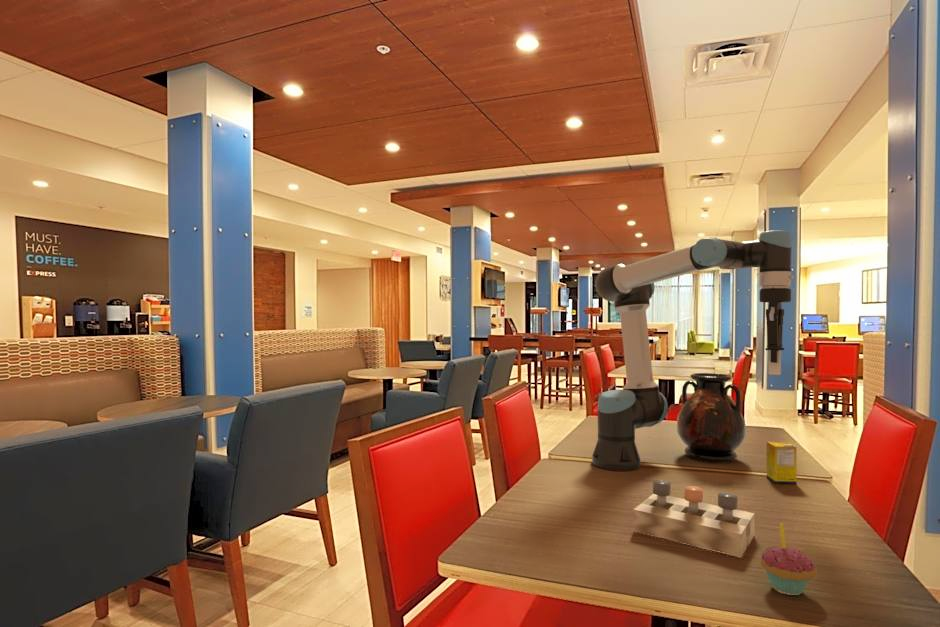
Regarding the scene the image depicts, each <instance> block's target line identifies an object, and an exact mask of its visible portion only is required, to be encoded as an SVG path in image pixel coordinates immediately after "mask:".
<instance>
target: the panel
mask: <svg viewBox="0 0 940 627" xmlns="http://www.w3.org/2000/svg"><path fill="white" fill-rule="evenodd" d="M634 531H637V532H640V533H639V534H641V533H645V534H649V535H653V536H657V537H662V538H666V539H670V540H674V541H678V542H682V543H686V544H690V545H694V546H699V547H703V548H707V549H711V550H715V551H720V552H725V553H729V554H733V555H736V556H742V555H743V553H744V551H745V550H746V548H747V546H748V545H749V543H750V541H751V540H752V541H753V539H754V537H755V512H749V511H747V510H746V511H745V510H741V509H736V510H733V520H731V521H729V520H724V519H723V508H720V507H719V506H718V505H715V504H711V503H707V502H706V503H705V502H700V503H698V513H691V512H689V501H686V500H685V499H684V498H681V497H676V496H671V495H669V496H666V506H659V505H657V495H656V494H654V493H653V494H650V496H649V497H647V498H646V499H645V500H643V501H642V502H641V503H640V504H638V505H637V506H636V507H634V509H633V532H634ZM637 532H636V533H637ZM645 534H644V535H645ZM649 535H648V536H649ZM653 536H652V537H653ZM753 536H754V537H753ZM752 538H753V539H752ZM752 541H751V542H752ZM750 544H751V543H750ZM749 546H750V545H749ZM749 546H748V547H749ZM747 549H748V548H747ZM746 551H747V550H746ZM744 554H745V553H744ZM743 556H744V555H743Z"/></svg>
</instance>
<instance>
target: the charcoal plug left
mask: <svg viewBox="0 0 940 627" xmlns="http://www.w3.org/2000/svg"><path fill="white" fill-rule="evenodd" d="M671 485H672V484H671V482H669V481H667V480H653V482H652V493H653V494H656V495H657V505H659V506H666V496H671V492H672V491H671Z"/></svg>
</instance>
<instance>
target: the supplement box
mask: <svg viewBox="0 0 940 627" xmlns="http://www.w3.org/2000/svg"><path fill="white" fill-rule="evenodd" d="M797 463H798V462H797V446H796V445H794V444H791V443H790V442H788V441H766V478H767V479H768V480H769V481H770V482H773V484H779V485H797V475H798V474H797V470H798V469H797Z"/></svg>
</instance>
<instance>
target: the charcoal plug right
mask: <svg viewBox="0 0 940 627" xmlns="http://www.w3.org/2000/svg"><path fill="white" fill-rule="evenodd" d="M738 500H739V499H738V495H736V493H735V494H734V493H731V492H719V493H717V506H719V507H720V508H723V519H724V520H729V521H731V520H733V510H738V507H739V505H738Z"/></svg>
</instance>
